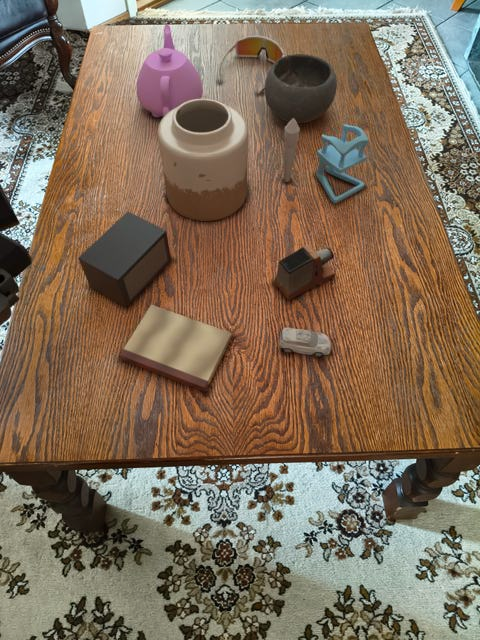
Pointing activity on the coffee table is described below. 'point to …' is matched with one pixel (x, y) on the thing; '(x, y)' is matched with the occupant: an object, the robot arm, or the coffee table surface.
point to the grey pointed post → (290, 147)
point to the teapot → (167, 79)
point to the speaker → (126, 258)
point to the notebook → (176, 347)
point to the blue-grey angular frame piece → (341, 160)
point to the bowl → (300, 87)
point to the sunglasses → (256, 49)
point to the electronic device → (303, 271)
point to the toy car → (304, 342)
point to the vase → (204, 159)
